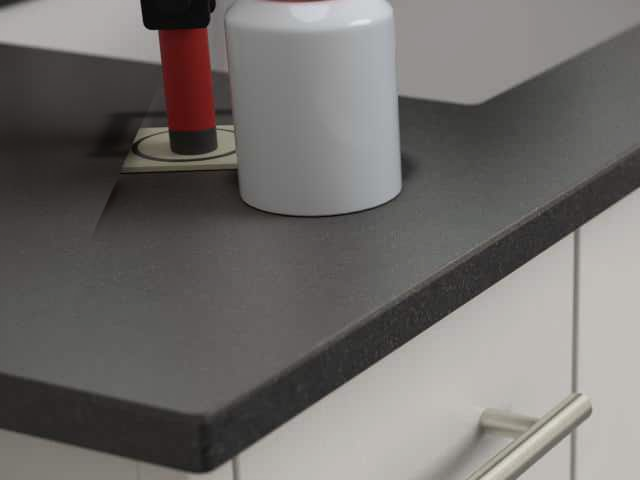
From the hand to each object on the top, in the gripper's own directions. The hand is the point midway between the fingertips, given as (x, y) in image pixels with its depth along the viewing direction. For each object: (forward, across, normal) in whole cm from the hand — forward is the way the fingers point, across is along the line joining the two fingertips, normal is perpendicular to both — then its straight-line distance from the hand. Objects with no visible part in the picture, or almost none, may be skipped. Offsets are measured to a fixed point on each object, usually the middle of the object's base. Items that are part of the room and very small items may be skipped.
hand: (180, 17), depth 81 cm
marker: (+7, 0, 0) cm, 7 cm away
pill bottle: (+7, +6, +7) cm, 12 cm away
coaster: (+7, -1, 0) cm, 7 cm away
